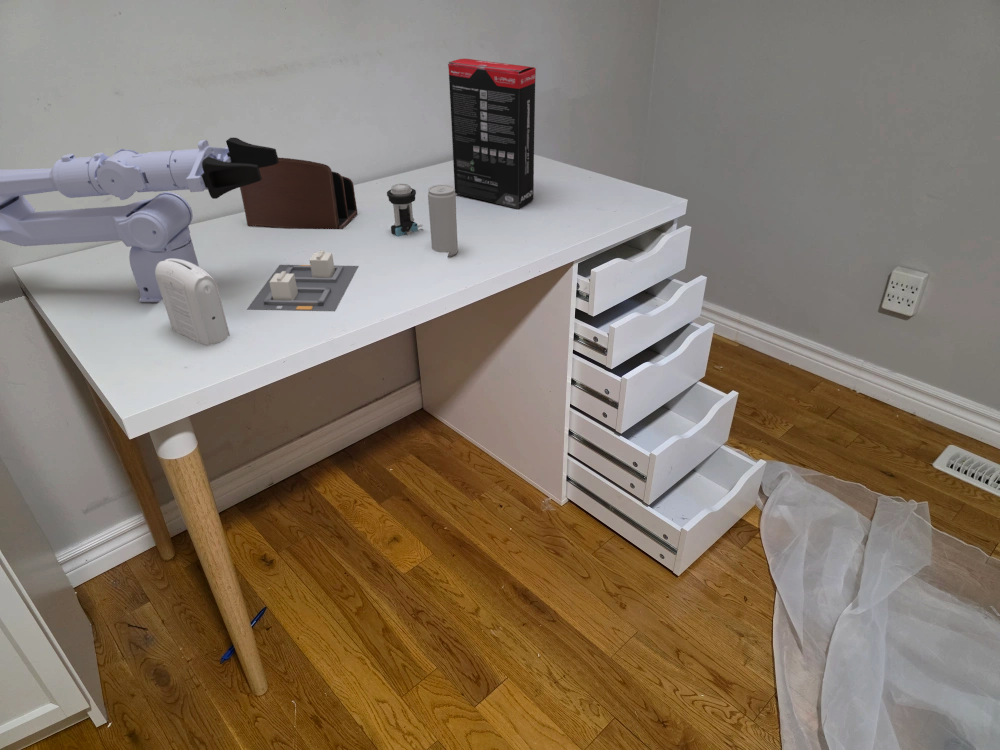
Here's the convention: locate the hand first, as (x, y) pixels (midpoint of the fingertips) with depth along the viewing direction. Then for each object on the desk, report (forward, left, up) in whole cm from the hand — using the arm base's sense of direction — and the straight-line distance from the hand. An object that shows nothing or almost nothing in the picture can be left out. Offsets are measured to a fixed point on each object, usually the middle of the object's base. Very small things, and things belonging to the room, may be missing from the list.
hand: (268, 164), depth 102 cm
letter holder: (-8, +32, -22) cm, 40 cm away
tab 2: (+4, +5, -20) cm, 21 cm away
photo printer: (-10, -14, -22) cm, 28 cm away
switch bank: (+2, +1, -22) cm, 22 cm away
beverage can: (+23, +17, -22) cm, 36 cm away
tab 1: (0, -3, -20) cm, 21 cm away
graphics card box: (+30, +45, -22) cm, 58 cm away
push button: (+15, +24, -22) cm, 36 cm away
